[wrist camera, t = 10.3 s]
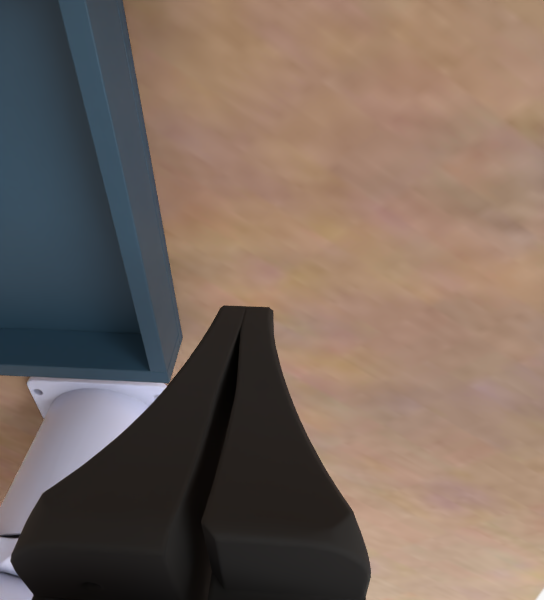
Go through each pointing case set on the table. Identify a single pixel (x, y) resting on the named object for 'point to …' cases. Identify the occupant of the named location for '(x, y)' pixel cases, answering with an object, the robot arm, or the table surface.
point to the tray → (78, 202)
